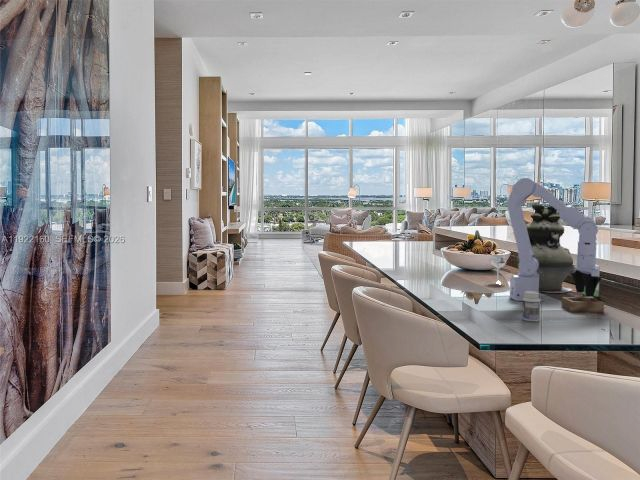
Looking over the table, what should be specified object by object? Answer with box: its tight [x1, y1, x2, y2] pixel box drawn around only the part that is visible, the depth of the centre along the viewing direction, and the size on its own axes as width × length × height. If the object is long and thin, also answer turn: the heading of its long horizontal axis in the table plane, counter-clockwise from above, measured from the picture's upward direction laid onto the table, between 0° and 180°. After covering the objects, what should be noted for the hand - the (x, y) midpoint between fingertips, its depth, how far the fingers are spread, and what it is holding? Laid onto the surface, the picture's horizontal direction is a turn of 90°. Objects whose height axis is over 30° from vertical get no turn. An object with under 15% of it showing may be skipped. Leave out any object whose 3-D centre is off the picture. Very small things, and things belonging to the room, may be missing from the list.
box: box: [561, 296, 605, 314], centre depth 165 cm, size 10×8×3 cm
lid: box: [573, 295, 606, 308], centre depth 175 cm, size 11×9×3 cm
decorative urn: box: [516, 204, 574, 294], centre depth 205 cm, size 21×21×35 cm
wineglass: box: [490, 254, 508, 285], centre depth 223 cm, size 7×7×12 cm
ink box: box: [580, 264, 601, 297], centre depth 194 cm, size 9×5×12 cm, turn 162°
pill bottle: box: [522, 291, 541, 322], centre depth 150 cm, size 5×5×8 cm
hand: (584, 294), depth 175 cm, fingers open, 7 cm apart
